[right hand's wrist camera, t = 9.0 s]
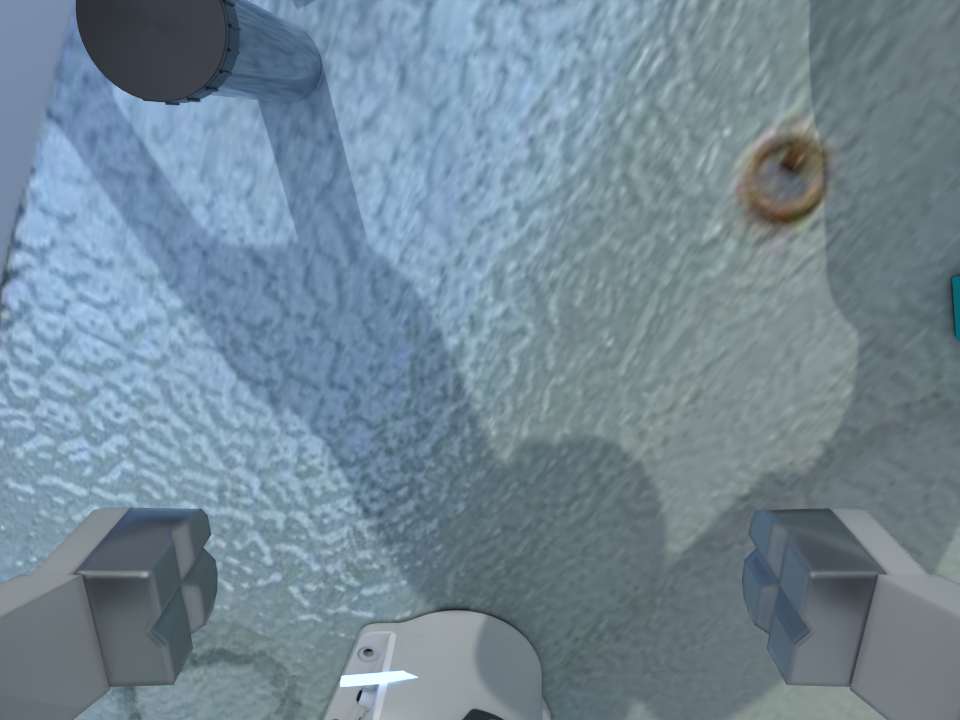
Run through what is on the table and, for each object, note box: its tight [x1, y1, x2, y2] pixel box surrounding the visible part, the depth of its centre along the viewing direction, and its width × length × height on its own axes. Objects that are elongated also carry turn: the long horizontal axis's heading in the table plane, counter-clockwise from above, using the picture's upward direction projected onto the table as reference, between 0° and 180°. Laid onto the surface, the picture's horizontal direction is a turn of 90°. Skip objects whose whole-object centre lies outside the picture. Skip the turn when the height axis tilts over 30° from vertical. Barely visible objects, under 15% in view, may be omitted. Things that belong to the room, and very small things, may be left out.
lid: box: [76, 0, 241, 105], centre depth 26 cm, size 6×6×2 cm
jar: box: [210, 0, 321, 103], centre depth 34 cm, size 5×5×18 cm
